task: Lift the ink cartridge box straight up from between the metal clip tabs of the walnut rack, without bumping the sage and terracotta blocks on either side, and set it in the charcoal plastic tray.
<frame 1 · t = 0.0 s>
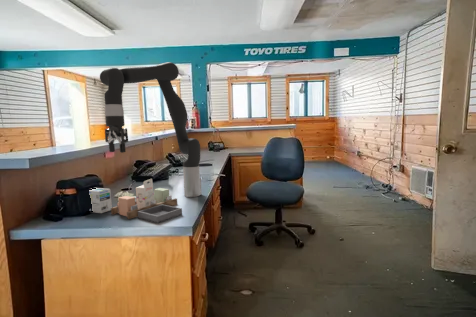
hand: (117, 152, 126), 29 cm above the countertop, tool pointing down, fingers open, 8 cm apart
ink cartridge box: (146, 209, 140), resting in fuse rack
light bulb box: (99, 211, 139), on the countertop
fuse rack: (145, 209, 140), on the countertop
sage block: (162, 204, 148), on the countertop
tray: (160, 216, 127), on the countertop
terracotta block: (127, 214, 132), on the countertop
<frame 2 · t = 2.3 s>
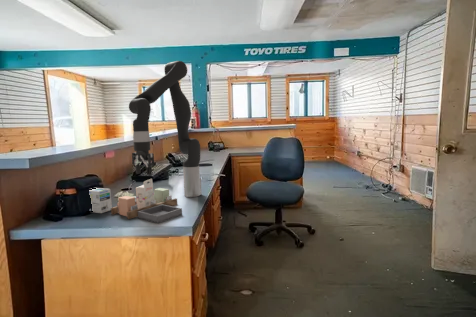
hand: (143, 174, 138), 17 cm above the countertop, tool pointing down, fingers open, 8 cm apart
nothing on the countertop moved.
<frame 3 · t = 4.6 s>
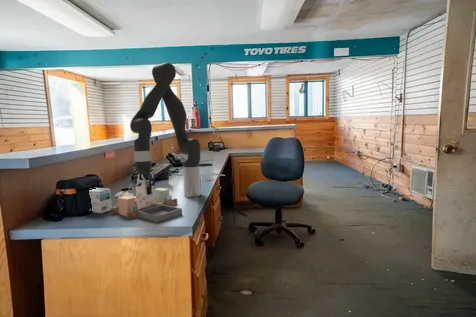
hand: (145, 193, 139), 8 cm above the countertop, tool pointing down, fingers closed on ink cartridge box, 6 cm apart
ink cartridge box: (146, 209, 140), resting in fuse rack, touching gripper
everything else where it was.
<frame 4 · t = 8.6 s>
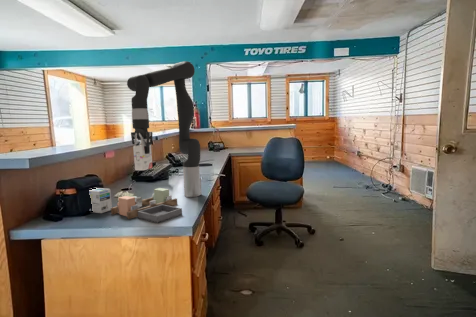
hand: (142, 153, 137), 28 cm above the countertop, tool pointing down, fingers closed on ink cartridge box, 6 cm apart
ink cartridge box: (143, 169, 137), point 20 cm above the countertop, touching gripper
everything else where it was.
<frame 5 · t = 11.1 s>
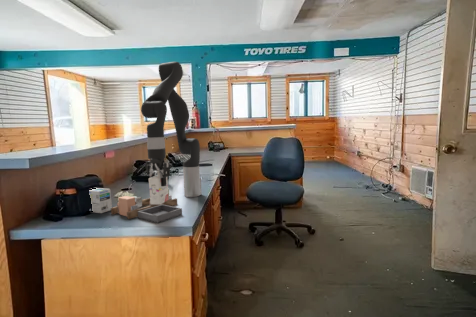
hand: (158, 185, 126), 14 cm above the countertop, tool pointing down, fingers closed on ink cartridge box, 6 cm apart
ink cartridge box: (159, 202, 126), point 6 cm above the countertop, touching gripper
everything else where it was.
when the fingers open (10 cm above the countertop, at t = 13.0 s): ink cartridge box drops 1 cm, resting on tray.
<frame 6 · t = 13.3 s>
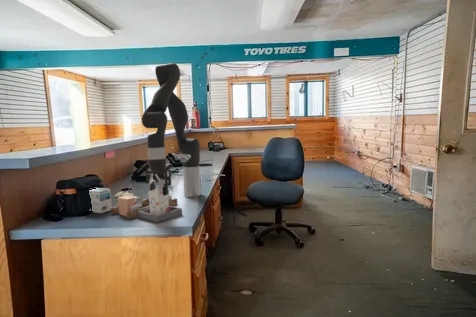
hand: (159, 194, 126), 10 cm above the countertop, tool pointing down, fingers open, 8 cm apart
ink cartridge box: (159, 215, 127), resting on tray
everything else where it was.
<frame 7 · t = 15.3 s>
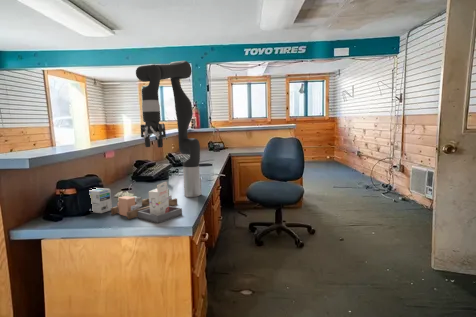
hand: (153, 147, 128), 31 cm above the countertop, tool pointing down, fingers open, 8 cm apart
nothing on the countertop moved.
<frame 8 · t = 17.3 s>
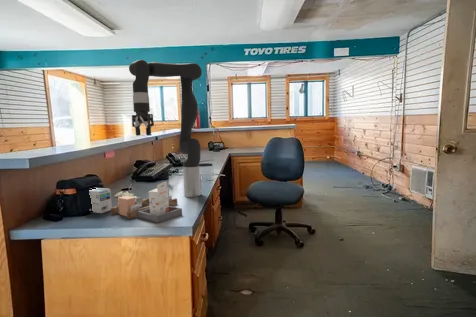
hand: (143, 135, 141), 36 cm above the countertop, tool pointing down, fingers open, 8 cm apart
nothing on the countertop moved.
at the end: ink cartridge box inside the target area on the tray (0.3 cm from its centre), point 0.4 cm above the tray's base; sage block moved 0.1 cm from its start; terracotta block moved 0.1 cm from its start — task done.
